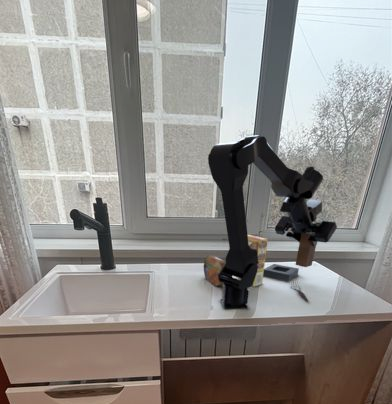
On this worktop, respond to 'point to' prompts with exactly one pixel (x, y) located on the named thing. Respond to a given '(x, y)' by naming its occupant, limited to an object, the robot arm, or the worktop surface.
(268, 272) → the base pad
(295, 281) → the fork
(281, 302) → the worktop surface
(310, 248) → the walnut post
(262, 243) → the candy box
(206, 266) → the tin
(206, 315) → the worktop surface
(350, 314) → the worktop surface
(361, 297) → the worktop surface
